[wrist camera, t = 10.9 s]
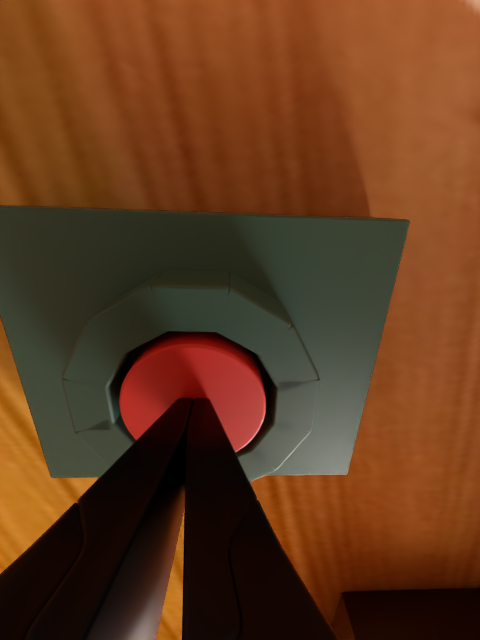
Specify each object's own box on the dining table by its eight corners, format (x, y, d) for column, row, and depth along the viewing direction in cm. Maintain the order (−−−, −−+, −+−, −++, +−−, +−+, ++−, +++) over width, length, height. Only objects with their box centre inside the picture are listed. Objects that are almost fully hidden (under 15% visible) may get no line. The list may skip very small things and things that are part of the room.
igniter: (373, 217, 10) (462, 222, 6) (329, 435, 13) (368, 520, 10) (22, 205, 9) (-117, 203, 5) (78, 436, 13) (18, 527, 9)
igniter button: (263, 319, 8) (271, 345, 7) (256, 421, 10) (262, 463, 8) (131, 317, 8) (107, 343, 7) (144, 422, 10) (127, 464, 8)
